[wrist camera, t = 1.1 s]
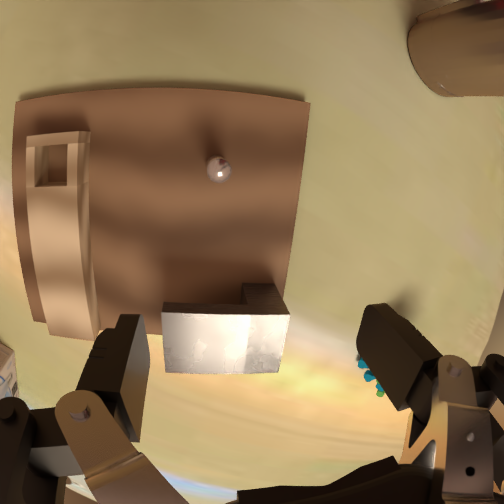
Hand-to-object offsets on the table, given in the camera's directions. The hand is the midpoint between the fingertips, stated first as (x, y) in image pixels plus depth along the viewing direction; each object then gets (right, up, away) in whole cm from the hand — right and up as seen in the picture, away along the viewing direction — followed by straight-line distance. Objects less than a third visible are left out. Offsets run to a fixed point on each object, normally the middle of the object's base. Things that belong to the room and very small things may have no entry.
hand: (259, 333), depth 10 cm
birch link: (-17, +4, +12) cm, 21 cm away
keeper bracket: (-3, -3, +17) cm, 17 cm away
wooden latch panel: (-10, +6, +14) cm, 18 cm away
